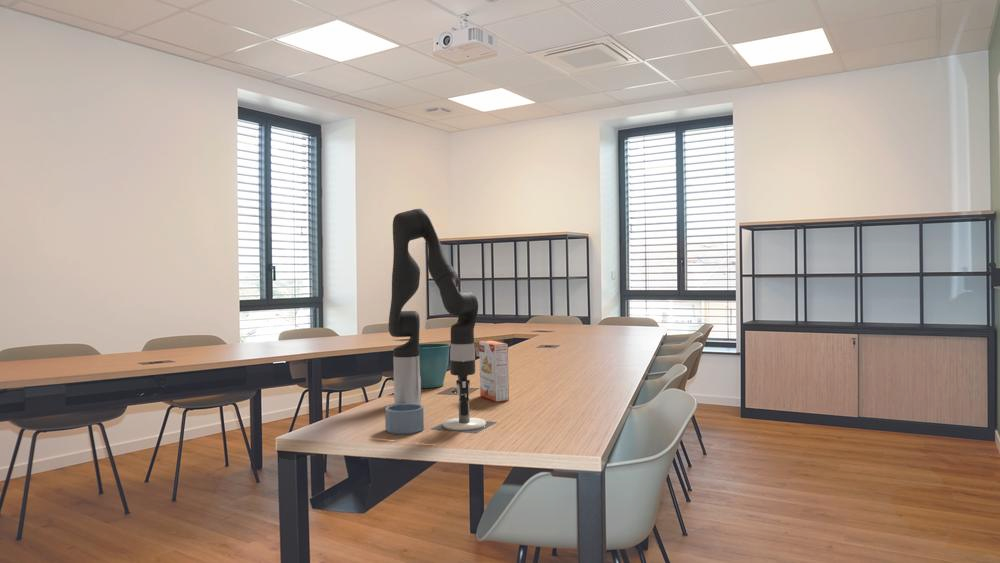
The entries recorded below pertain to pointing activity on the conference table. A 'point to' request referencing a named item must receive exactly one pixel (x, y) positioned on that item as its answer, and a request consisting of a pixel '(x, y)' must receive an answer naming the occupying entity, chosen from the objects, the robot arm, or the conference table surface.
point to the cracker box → (494, 370)
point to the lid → (464, 423)
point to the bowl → (404, 418)
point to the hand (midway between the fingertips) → (463, 412)
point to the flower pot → (433, 364)
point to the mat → (440, 427)
